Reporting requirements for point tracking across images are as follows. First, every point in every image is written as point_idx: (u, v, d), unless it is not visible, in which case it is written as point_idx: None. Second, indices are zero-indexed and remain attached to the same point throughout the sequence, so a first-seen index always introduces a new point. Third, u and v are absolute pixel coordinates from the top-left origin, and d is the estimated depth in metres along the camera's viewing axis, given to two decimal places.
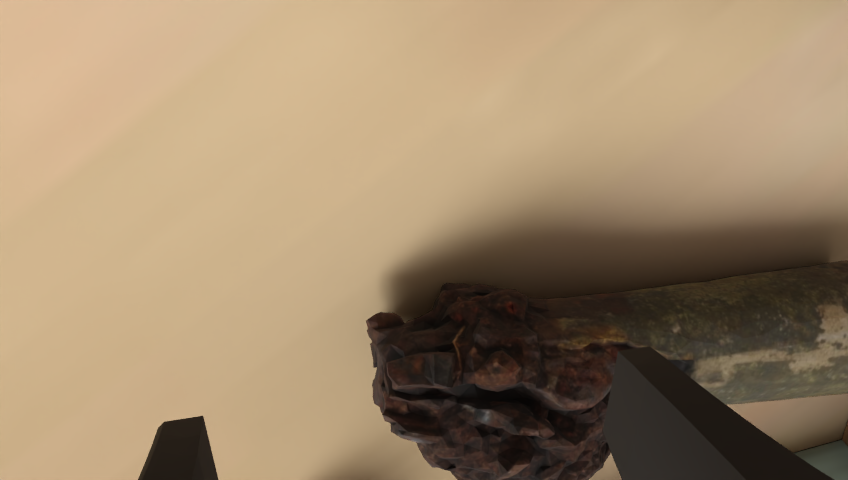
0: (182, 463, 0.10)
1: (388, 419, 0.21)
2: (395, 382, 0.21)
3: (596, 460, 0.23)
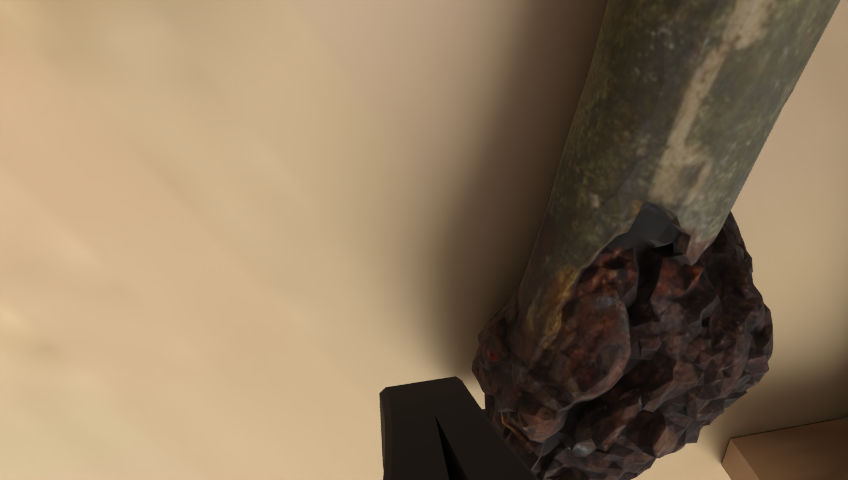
0: (423, 424, 0.11)
1: None
2: None
3: (722, 343, 0.17)
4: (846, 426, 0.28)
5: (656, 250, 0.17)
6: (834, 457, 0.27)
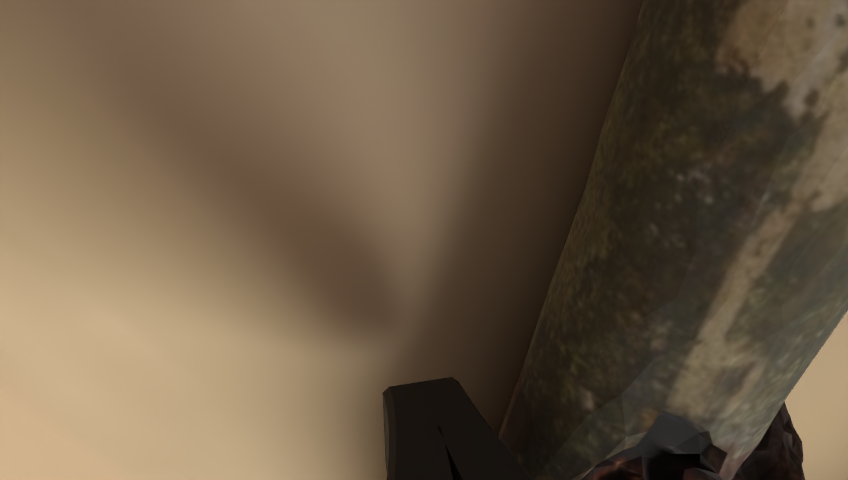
0: (426, 423, 0.11)
1: None
2: None
3: None
4: None
5: (675, 456, 0.12)
6: None
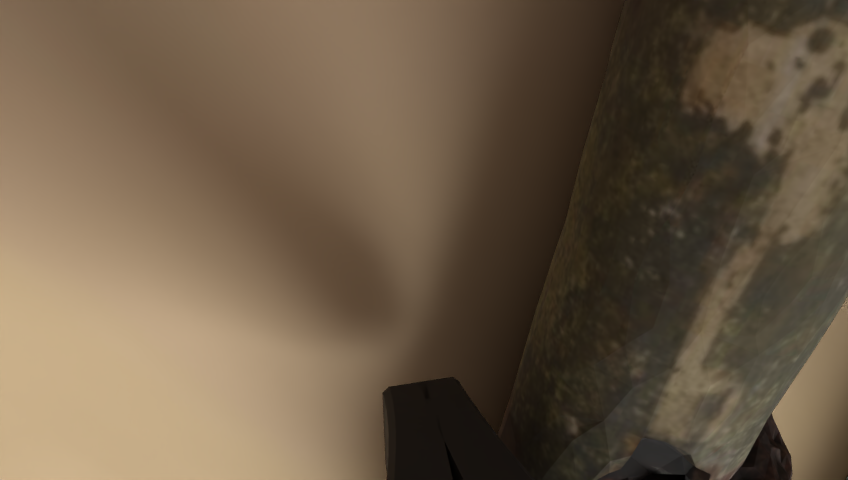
0: (425, 423, 0.11)
1: None
2: None
3: None
4: None
5: (662, 475, 0.12)
6: None
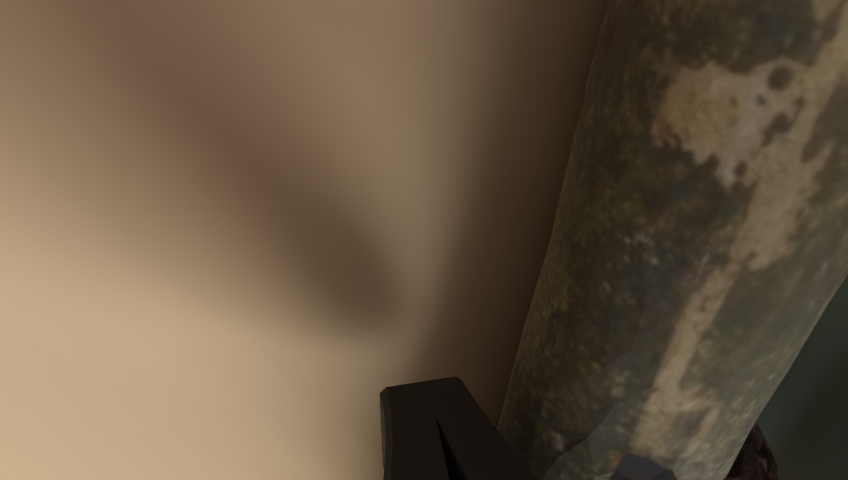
0: (423, 424, 0.11)
1: None
2: None
3: None
4: None
5: None
6: None
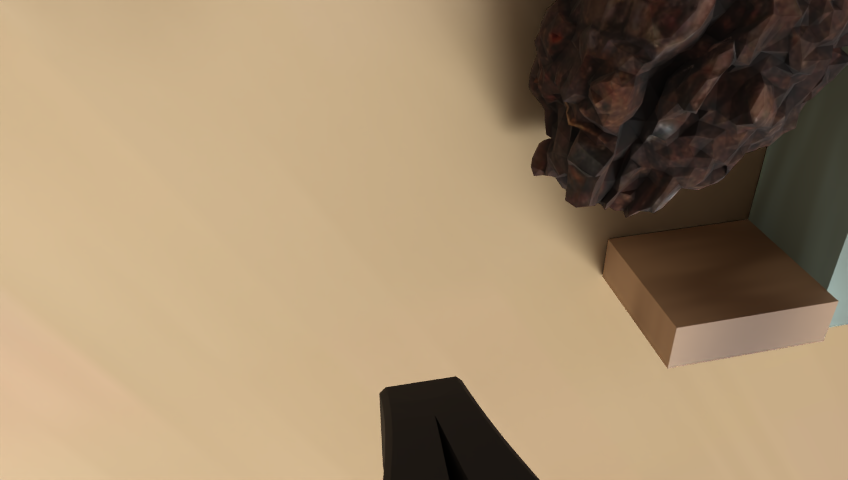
0: (423, 424, 0.11)
1: (633, 214, 0.18)
2: (584, 206, 0.18)
3: None
4: (747, 226, 0.24)
5: None
6: (727, 252, 0.23)
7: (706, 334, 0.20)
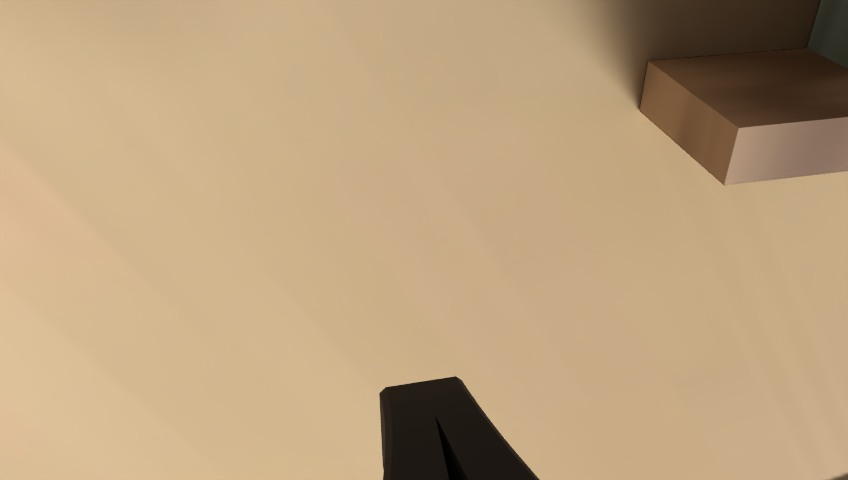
0: (423, 424, 0.11)
1: None
2: None
3: None
4: (806, 52, 0.21)
5: None
6: (787, 71, 0.20)
7: (772, 141, 0.17)
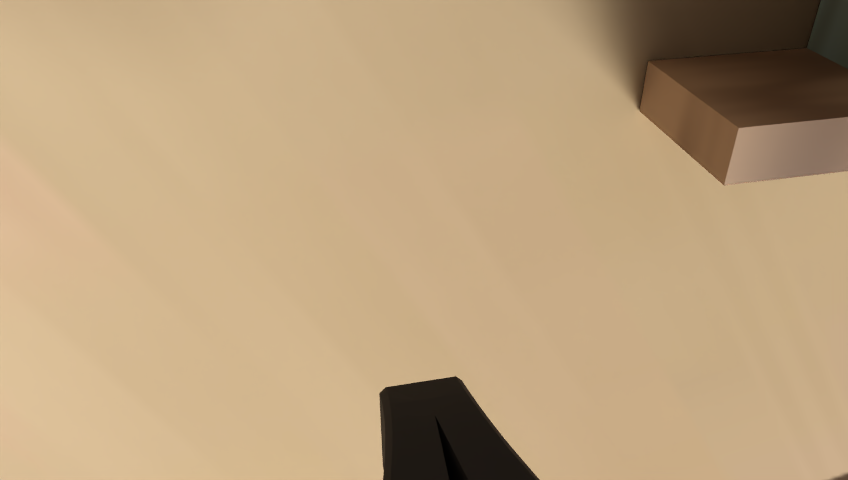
0: (423, 424, 0.11)
1: None
2: None
3: None
4: (806, 52, 0.21)
5: None
6: (787, 71, 0.20)
7: (772, 141, 0.17)
